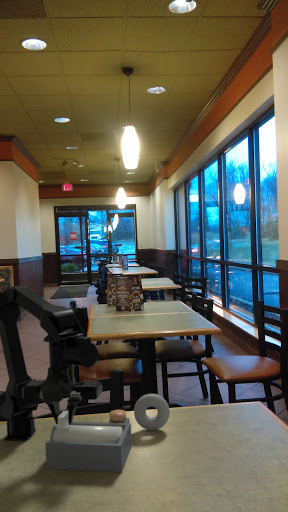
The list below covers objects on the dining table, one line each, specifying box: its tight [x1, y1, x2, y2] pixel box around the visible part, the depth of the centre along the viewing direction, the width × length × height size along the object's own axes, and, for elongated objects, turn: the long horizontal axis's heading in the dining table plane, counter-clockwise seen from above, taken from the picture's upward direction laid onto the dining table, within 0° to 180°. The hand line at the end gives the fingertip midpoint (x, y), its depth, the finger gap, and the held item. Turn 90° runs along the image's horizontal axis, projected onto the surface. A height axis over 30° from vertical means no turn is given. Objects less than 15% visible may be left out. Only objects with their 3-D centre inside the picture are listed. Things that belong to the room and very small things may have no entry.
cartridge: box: [49, 410, 123, 444], centre depth 101 cm, size 17×6×9 cm, turn 81°
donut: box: [133, 393, 171, 432], centre depth 114 cm, size 10×4×10 cm, turn 86°
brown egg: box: [108, 409, 127, 423], centre depth 109 cm, size 4×4×6 cm
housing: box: [44, 417, 133, 473], centre depth 103 cm, size 18×18×6 cm
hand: (64, 424), depth 102 cm, fingers open, 3 cm apart
